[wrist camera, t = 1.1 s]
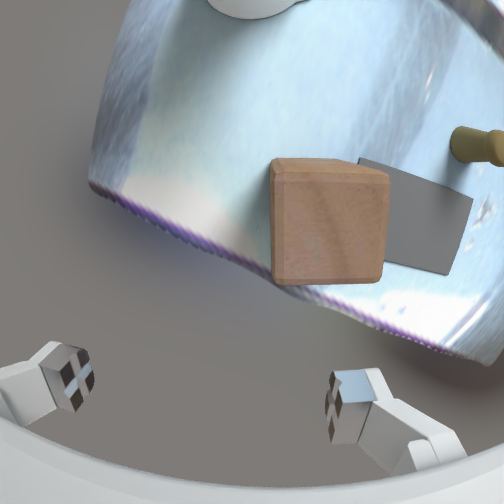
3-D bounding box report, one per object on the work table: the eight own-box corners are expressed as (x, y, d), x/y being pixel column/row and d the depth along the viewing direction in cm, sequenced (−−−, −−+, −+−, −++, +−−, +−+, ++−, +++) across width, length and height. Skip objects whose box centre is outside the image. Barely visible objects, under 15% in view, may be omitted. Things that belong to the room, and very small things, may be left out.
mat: (359, 157, 40) (360, 157, 40) (472, 198, 41) (473, 198, 40) (335, 248, 45) (336, 249, 45) (447, 274, 46) (448, 275, 45)
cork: (472, 124, 37) (515, 125, 26) (479, 159, 38) (521, 167, 28) (446, 128, 38) (488, 129, 27) (454, 165, 39) (495, 175, 29)
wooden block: (340, 158, 41) (395, 172, 22) (338, 227, 44) (384, 287, 25) (269, 157, 41) (270, 168, 22) (270, 227, 45) (271, 289, 26)
